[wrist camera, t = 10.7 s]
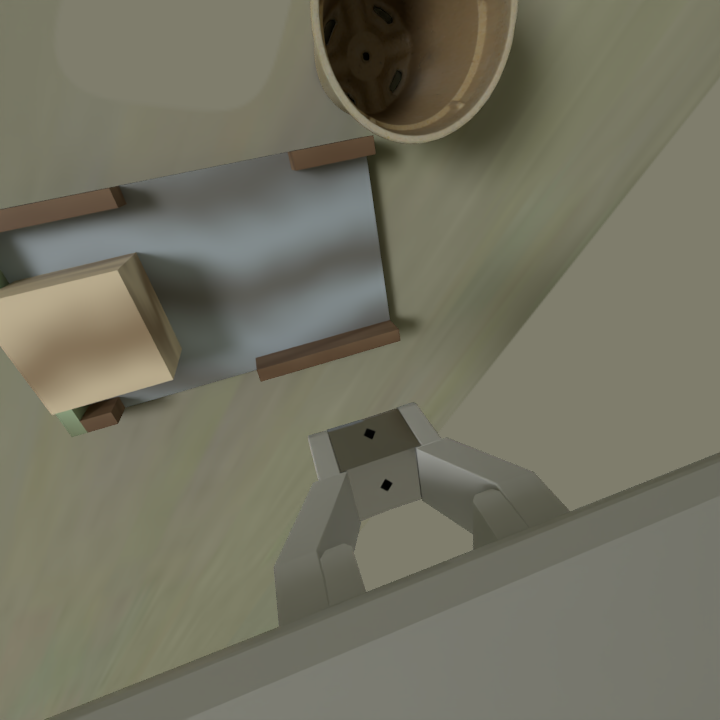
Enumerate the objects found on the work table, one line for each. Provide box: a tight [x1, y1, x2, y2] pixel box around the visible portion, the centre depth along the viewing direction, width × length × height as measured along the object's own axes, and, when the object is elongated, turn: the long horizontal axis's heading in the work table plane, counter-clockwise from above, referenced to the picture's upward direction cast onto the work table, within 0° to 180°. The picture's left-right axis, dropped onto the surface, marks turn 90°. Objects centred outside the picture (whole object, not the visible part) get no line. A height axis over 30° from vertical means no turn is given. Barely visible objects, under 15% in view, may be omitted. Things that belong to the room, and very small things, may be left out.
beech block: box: [0, 252, 182, 415], centre depth 23 cm, size 7×7×4 cm
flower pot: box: [310, 0, 518, 144], centre depth 20 cm, size 9×9×9 cm
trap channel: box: [0, 136, 400, 437], centre depth 26 cm, size 14×24×3 cm, turn 100°
